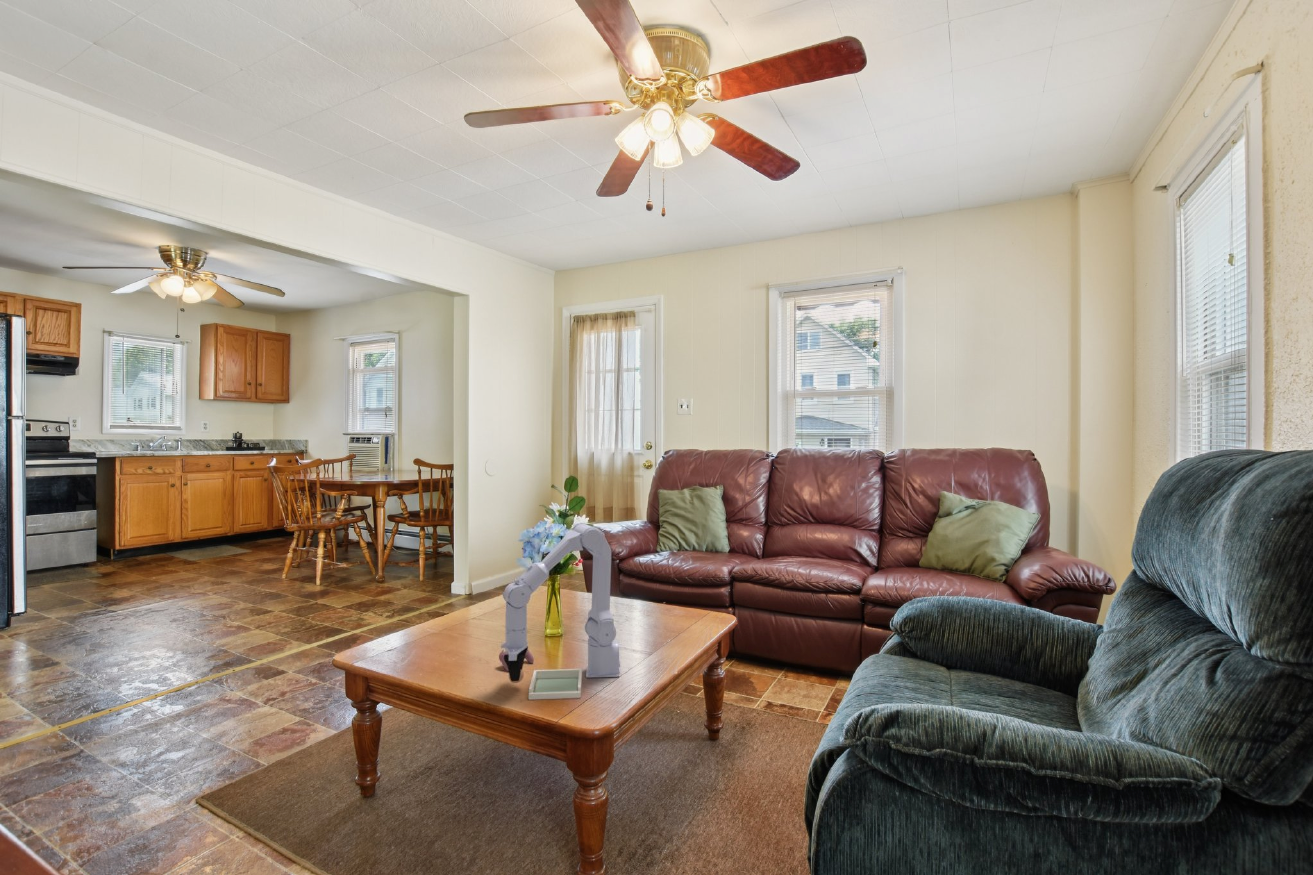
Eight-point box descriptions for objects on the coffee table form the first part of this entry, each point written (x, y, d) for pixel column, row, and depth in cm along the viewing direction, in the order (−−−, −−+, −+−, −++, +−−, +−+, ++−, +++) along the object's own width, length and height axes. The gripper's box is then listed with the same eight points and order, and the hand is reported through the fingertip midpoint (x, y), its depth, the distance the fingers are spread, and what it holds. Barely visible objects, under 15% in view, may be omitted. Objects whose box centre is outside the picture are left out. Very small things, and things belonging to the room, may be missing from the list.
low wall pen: (581, 677, 175) (582, 668, 175) (580, 697, 162) (580, 688, 161) (534, 678, 174) (534, 670, 174) (528, 699, 160) (528, 690, 160)
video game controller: (527, 665, 188) (521, 642, 190) (536, 661, 185) (529, 639, 187) (501, 675, 180) (494, 651, 182) (509, 671, 178) (503, 647, 180)
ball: (524, 679, 169) (524, 664, 169) (522, 685, 165) (522, 670, 165) (509, 679, 168) (509, 665, 168) (507, 685, 164) (507, 670, 164)
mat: (577, 679, 174) (577, 677, 174) (576, 696, 162) (576, 695, 162) (537, 680, 173) (537, 679, 173) (533, 697, 161) (533, 696, 161)
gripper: (505, 619, 173) (505, 667, 173) (496, 637, 159) (496, 688, 159) (530, 619, 174) (530, 666, 174) (524, 636, 160) (524, 687, 160)
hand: (516, 677), depth 167 cm, fingers closed on ball, 4 cm apart
